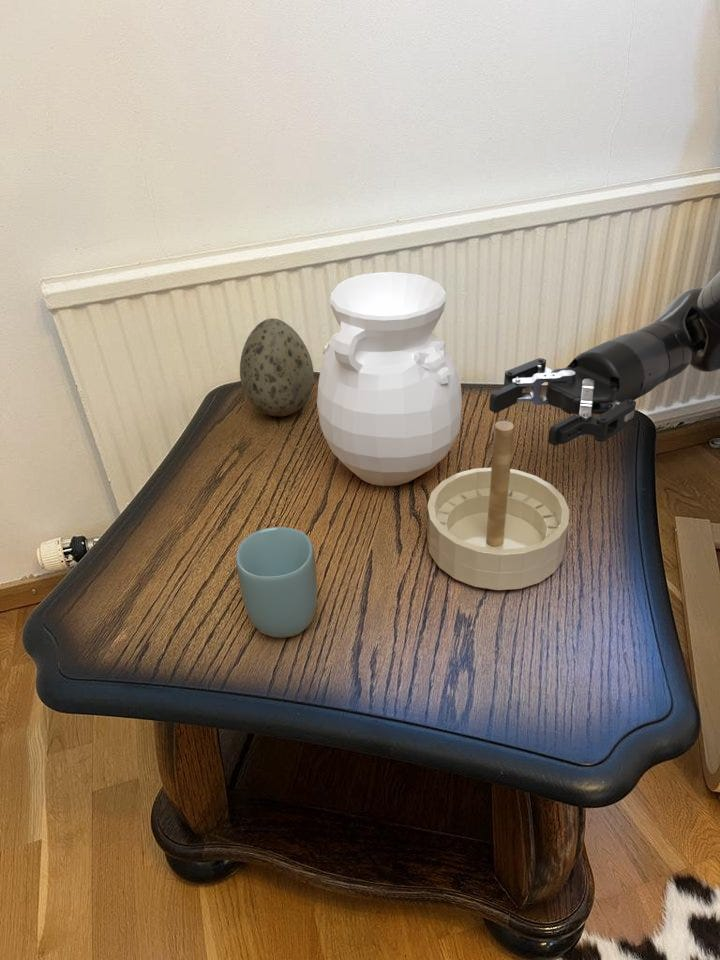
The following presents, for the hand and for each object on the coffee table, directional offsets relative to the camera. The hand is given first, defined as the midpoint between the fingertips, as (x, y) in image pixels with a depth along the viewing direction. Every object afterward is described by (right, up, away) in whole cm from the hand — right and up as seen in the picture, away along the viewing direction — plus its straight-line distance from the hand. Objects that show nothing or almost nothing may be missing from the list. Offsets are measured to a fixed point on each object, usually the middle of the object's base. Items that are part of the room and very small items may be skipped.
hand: (520, 420), depth 80 cm
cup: (-25, -22, +1) cm, 33 cm away
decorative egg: (-29, +4, +35) cm, 46 cm away
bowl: (-1, -14, +8) cm, 17 cm away
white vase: (-13, -5, +23) cm, 26 cm away
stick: (-1, -13, +8) cm, 16 cm away
